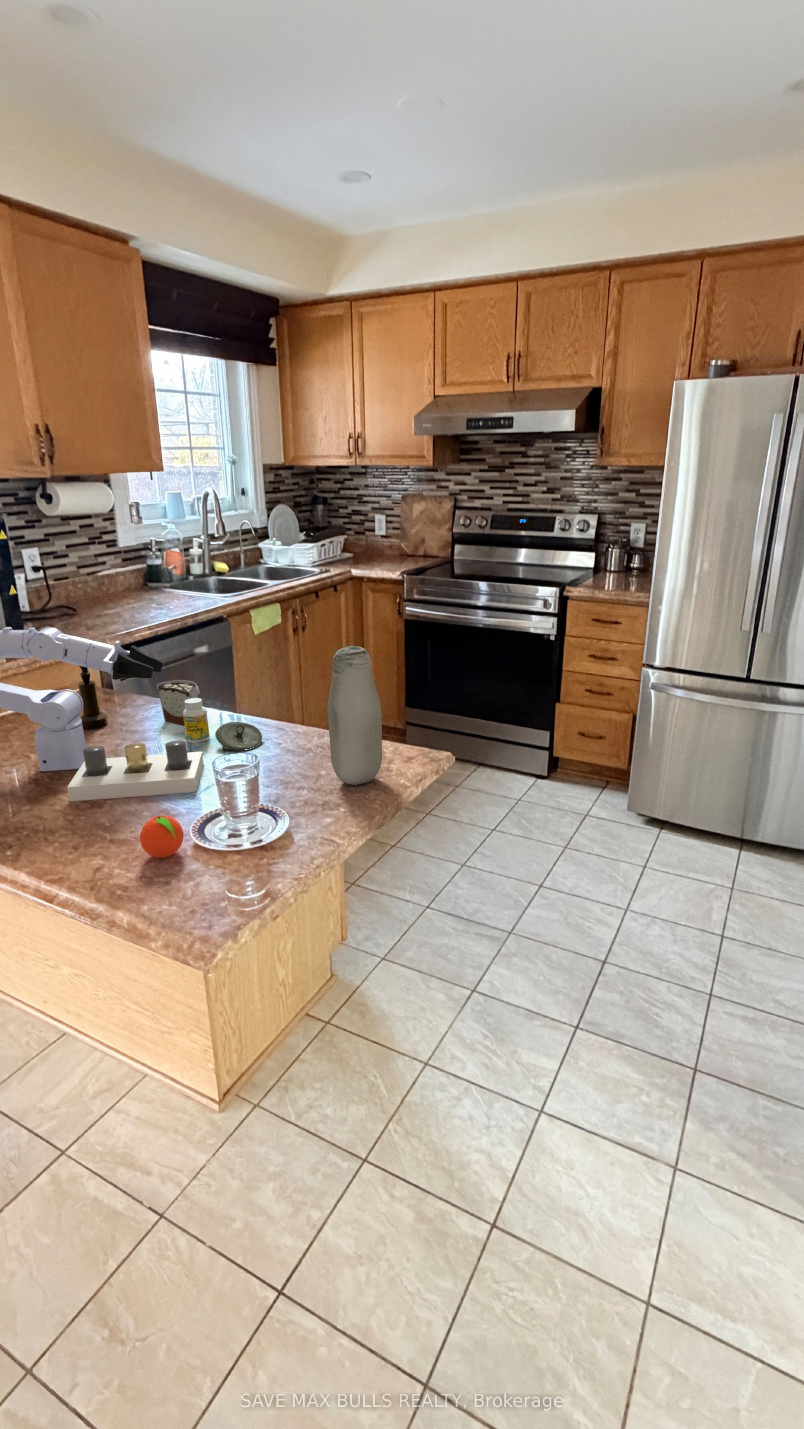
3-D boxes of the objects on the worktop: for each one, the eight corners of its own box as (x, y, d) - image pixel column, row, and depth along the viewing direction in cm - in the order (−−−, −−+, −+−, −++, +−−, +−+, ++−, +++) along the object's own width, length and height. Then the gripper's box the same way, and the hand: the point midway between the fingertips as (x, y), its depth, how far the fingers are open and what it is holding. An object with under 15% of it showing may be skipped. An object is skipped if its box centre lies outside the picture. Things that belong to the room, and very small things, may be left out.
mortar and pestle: (81, 722, 189) (69, 653, 184) (108, 719, 191) (97, 650, 185) (78, 731, 183) (66, 659, 178) (107, 728, 185) (95, 657, 179)
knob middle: (126, 774, 151) (122, 751, 149) (130, 766, 155) (126, 743, 153) (146, 772, 151) (143, 749, 150) (150, 764, 155) (146, 742, 154)
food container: (213, 721, 188) (209, 683, 185) (195, 729, 183) (190, 690, 180) (179, 714, 194) (174, 676, 191) (160, 721, 189) (155, 683, 186)
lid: (246, 733, 180) (244, 713, 178) (271, 743, 173) (269, 722, 172) (208, 745, 173) (206, 725, 171) (232, 756, 166) (230, 735, 165)
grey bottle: (350, 768, 159) (344, 638, 149) (391, 777, 154) (388, 644, 144) (322, 785, 151) (314, 649, 141) (365, 796, 146) (359, 656, 136)
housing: (69, 801, 146) (67, 787, 145) (87, 772, 159) (85, 759, 158) (196, 791, 149) (194, 777, 148) (203, 764, 162) (202, 751, 161)
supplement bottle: (210, 734, 180) (206, 696, 176) (208, 742, 174) (204, 703, 171) (187, 735, 179) (183, 697, 176) (184, 744, 174) (179, 704, 171)
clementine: (197, 855, 125) (193, 817, 123) (160, 872, 120) (155, 833, 118) (171, 840, 130) (166, 803, 128) (134, 856, 125) (128, 818, 123)
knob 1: (84, 777, 150) (80, 753, 148) (89, 769, 154) (85, 746, 152) (105, 775, 150) (101, 752, 149) (109, 767, 154) (106, 745, 153)
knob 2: (167, 771, 152) (163, 748, 150) (170, 763, 156) (167, 741, 154) (187, 769, 152) (184, 746, 151) (189, 762, 156) (187, 739, 155)
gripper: (82, 640, 148) (151, 657, 150) (106, 631, 162) (169, 646, 164) (76, 674, 150) (145, 690, 151) (100, 662, 164) (163, 677, 165)
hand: (157, 670), depth 158 cm, fingers open, 7 cm apart
